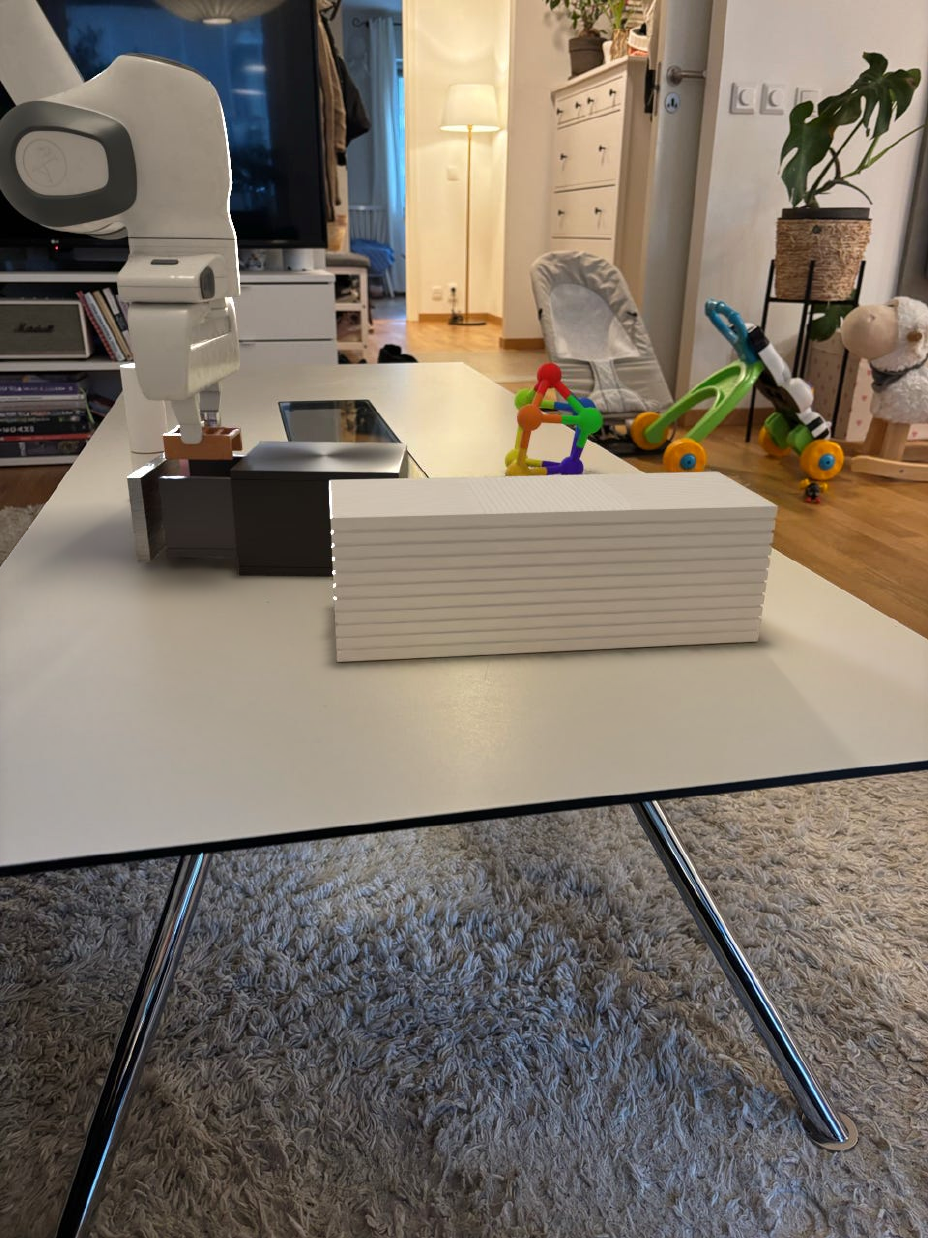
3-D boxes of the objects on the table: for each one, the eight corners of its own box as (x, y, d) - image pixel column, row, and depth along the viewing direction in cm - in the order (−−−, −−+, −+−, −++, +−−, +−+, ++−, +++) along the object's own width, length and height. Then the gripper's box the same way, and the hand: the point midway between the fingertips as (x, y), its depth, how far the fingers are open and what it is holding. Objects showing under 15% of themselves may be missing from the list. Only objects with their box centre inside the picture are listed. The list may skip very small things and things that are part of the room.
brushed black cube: (238, 575, 82) (229, 470, 78) (266, 533, 94) (259, 441, 90) (400, 577, 82) (398, 472, 78) (408, 535, 94) (407, 442, 90)
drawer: (124, 561, 82) (112, 477, 79) (162, 525, 93) (154, 449, 90) (286, 564, 82) (281, 479, 79) (306, 527, 93) (302, 451, 90)
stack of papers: (703, 592, 79) (718, 471, 75) (757, 642, 70) (778, 505, 66) (334, 607, 75) (329, 479, 71) (336, 662, 65) (330, 517, 61)
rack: (165, 459, 82) (162, 434, 81) (179, 449, 86) (177, 425, 85) (231, 460, 82) (229, 435, 81) (242, 449, 86) (240, 426, 86)
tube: (164, 503, 104) (149, 368, 98) (129, 501, 105) (112, 367, 99) (181, 494, 108) (167, 363, 102) (147, 492, 109) (131, 362, 103)
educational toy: (612, 498, 113) (625, 376, 106) (510, 501, 111) (516, 377, 104) (578, 459, 126) (588, 349, 119) (487, 461, 124) (491, 349, 117)
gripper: (184, 271, 88) (198, 415, 93) (107, 278, 69) (130, 459, 74) (249, 272, 88) (260, 416, 93) (190, 279, 69) (208, 460, 74)
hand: (202, 436), depth 84 cm, fingers closed on rack, 4 cm apart
